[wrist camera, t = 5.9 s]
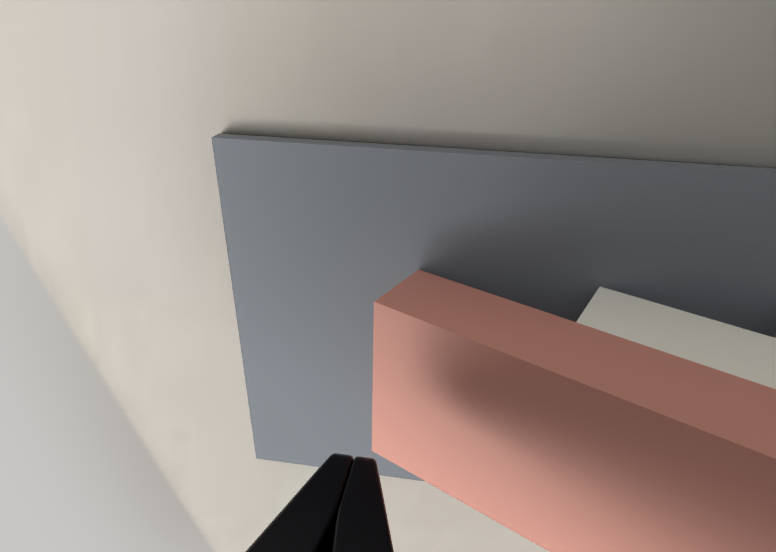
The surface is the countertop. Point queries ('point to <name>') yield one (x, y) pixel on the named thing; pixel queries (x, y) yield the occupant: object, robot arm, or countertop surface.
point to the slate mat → (459, 256)
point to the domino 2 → (684, 335)
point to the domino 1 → (570, 426)
